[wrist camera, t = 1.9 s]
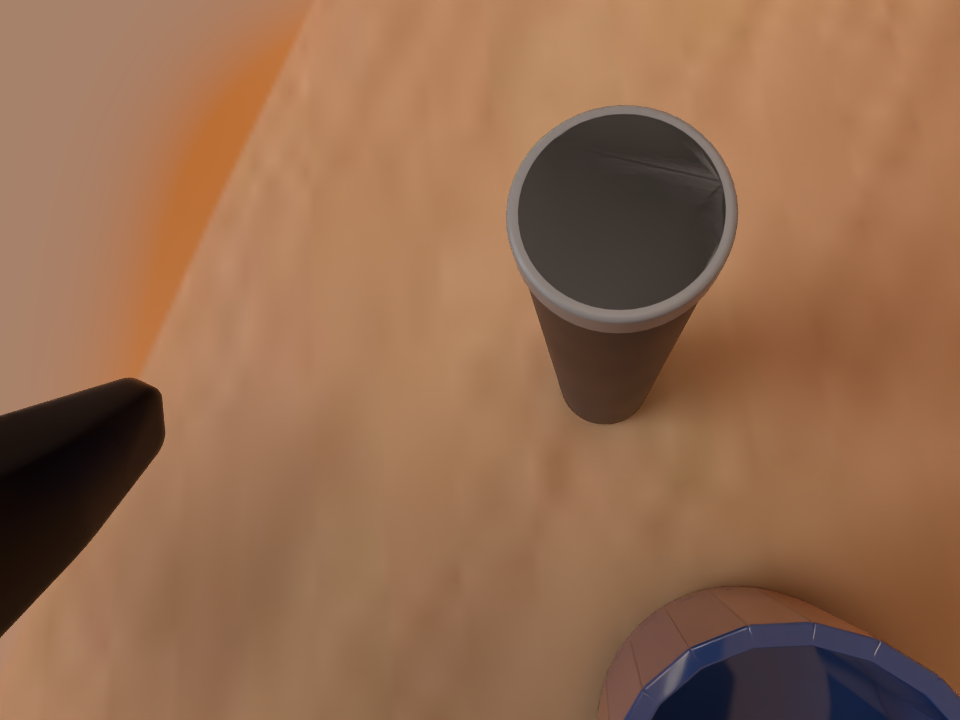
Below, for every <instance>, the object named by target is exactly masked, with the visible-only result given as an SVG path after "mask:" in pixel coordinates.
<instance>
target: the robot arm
mask: <svg viewBox="0 0 960 720" xmlns="http://www.w3.org/2000/svg"><path fill="white" fill-rule="evenodd" d="M164 438H165V425H164V414H163V403H162V396H161V393H160V392H159V390H158V389H157V388H155V387H153V386H151V385H149V384H147V383H144V382H142V381H140V380H138V379H135V378H123V379H119V380H116V381H113V382H109V383H106V384H103V385H100V386H96V387H93V388H90V389H87V390H83V391H80V392H76V393H73V394H70V395H67V396H63V397H60V398H57V399H54V400H50V401H47V402H44V403H40V404H37V405H34V406H30V407H27V408H24V409H20V410H17V411H14V412H11V413H8V414H4V415H1V416H0V638H1V636H2V635H3V634H4V633H5V632H6V631H7V630H8V629H9V628H10V627H11V626H12V625H13V624H14V623H15V621H17V619H18V618H19V617H20V616H21V615H22V614H23V613H24V612H25V611H26V610H27V609H28V608H29V607H30V606H31V605H32V604H33V603H34V601H35V600H36V599H37V598H38V597H39V596H40V595H41V594H42V593H43V592H44V591H45V590H46V589H47V588H48V587H49V586H50V584H51V583H52V582H53V581H54V580H55V579H56V578H57V577H58V576H59V575H60V574H61V573H62V572H63V571H64V570H65V569H66V568H67V566H68V565H69V564H70V563H71V562H72V561H73V560H74V559H75V558H76V557H77V556H78V555H79V553H80V552H81V551H82V550H83V549H84V548H85V547H86V546H87V544H88V543H89V542H90V541H91V539H92V538H93V537H94V536H95V535H96V533H97V532H98V531H99V530H100V528H101V527H102V526H103V524H104V523H105V522H106V520H107V519H108V518H109V516H110V515H111V514H112V513H113V511H114V510H115V509H116V507H117V506H118V505H119V503H120V502H121V501H122V499H123V498H124V497H125V496H126V494H127V493H128V492H129V490H130V489H131V488H132V486H133V485H134V484H135V482H136V481H137V480H138V479H139V477H140V476H141V475H142V473H143V472H144V471H145V469H146V468H147V467H148V465H149V464H150V463H151V462H152V460H153V459H154V458H155V456H156V455H157V454H158V452H159V451H160V449H161V447H162V445H163V442H164Z"/></svg>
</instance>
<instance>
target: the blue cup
mask: <svg viewBox="0 0 960 720" xmlns="http://www.w3.org/2000/svg"><path fill="white" fill-rule="evenodd" d="M597 720H960V697H959V696H958V695H957V694H956V693H955V692H954V691H953V689H952V688H951V687H950V686H949V685H948V684H947V683H946V682H945V681H944V680H943V679H942V678H940V677H939V676H938V675H937V674H936V673H934V672H933V671H931V670H929V669H928V668H926V667H924V666H923V665H921V664H919V663H918V662H916V661H915V660H913V659H911V658H910V657H908V656H906V655H905V654H903V653H901V652H900V651H898V650H897V649H895V648H893V647H892V646H890V645H888V644H887V643H885V642H883V641H882V640H880V639H878V638H876V637H874V636H872V635H870V634H868V633H866V632H864V631H862V630H860V629H858V628H857V627H855V626H853V625H851V624H849V623H847V622H845V621H843V620H841V619H839V618H837V617H835V616H833V615H831V614H829V613H827V612H825V611H823V610H821V609H820V608H818V607H816V606H814V605H812V604H810V603H808V602H805V601H803V600H800V599H796V598H793V597H790V596H788V595H785V594H783V593H779V592H774V591H770V590H766V589H762V588H753V587H744V586H737V587H719V588H712V589H705V590H702V591H698V592H695V593H691V594H688V595H685V596H683V597H681V598H679V599H676V600H674V601H672V602H670V603H668V604H667V605H665V606H663V607H662V608H660V609H659V610H657V611H655V612H654V613H653V614H652V615H650V616H649V617H648V618H647V619H646V620H644V621H643V622H642V623H641V624H640V625H639V626H638V627H637V628H636V629H635V630H634V631H633V632H632V633H631V635H630V636H629V637H628V638H627V639H626V641H625V642H624V644H623V645H622V647H621V648H620V650H619V651H618V653H617V654H616V656H615V658H614V660H613V662H612V664H611V666H610V668H609V670H608V673H607V676H606V679H605V682H604V685H603V687H602V692H601V697H600V701H599V706H598V716H597Z"/></svg>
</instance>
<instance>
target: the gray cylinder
mask: <svg viewBox="0 0 960 720" xmlns="http://www.w3.org/2000/svg"><path fill="white" fill-rule="evenodd" d="M737 221H738V204H737V195H736V191H735V187H734V182H733V180H732V177H731V175H730V172H729V169H728V167H727V166H726V164H725V162H724V160H723V159H722V157H721V155H720V154H719V153H718V151H717V150H716V149H715V147H714V146H713V145H712V144H711V143H710V142H709V141H708V140H707V139H706V138H705V137H704V136H703V135H702V134H701V133H700V132H699V131H697V130H696V129H695V128H694V127H692V126H691V125H690V124H688V123H686V122H684V121H683V120H681V119H679V118H677V117H675V116H673V115H670V114H668V113H666V112H663V111H659V110H656V109H652V108H648V107H641V106H629V105H618V106H608V107H602V108H597V109H593V110H590V111H587V112H584V113H581V114H578V115H576V116H574V117H572V118H570V119H568V120H566V121H564V122H562V123H561V124H559V125H558V126H556V127H555V128H553V129H552V130H551V131H549V132H548V133H547V134H546V135H545V136H543V137H542V138H541V139H540V140H539V141H538V142H537V143H536V144H535V145H534V147H533V148H532V149H531V150H530V151H529V153H528V154H527V156H526V157H525V158H524V160H523V161H522V163H521V165H520V167H519V169H518V170H517V172H516V174H515V177H514V180H513V182H512V185H511V188H510V192H509V196H508V201H507V211H506V222H507V233H508V238H509V243H510V246H511V249H512V252H513V256H514V258H515V261H516V264H517V267H518V270H519V272H520V274H521V276H522V278H523V280H524V281H525V283H526V284H527V286H528V287H529V290H530V293H531V296H532V299H533V303H534V306H535V309H536V312H537V315H538V318H539V322H540V325H541V328H542V331H543V334H544V337H545V340H546V344H547V347H548V350H549V353H550V356H551V359H552V363H553V366H554V369H555V372H556V375H557V378H558V382H559V385H560V388H561V391H562V394H563V397H564V399H565V401H566V403H567V404H568V406H569V407H570V408H571V410H572V411H573V412H574V413H576V414H577V415H578V416H580V417H581V418H583V419H585V420H587V421H589V422H592V423H597V424H612V423H617V422H620V421H622V420H625V419H627V418H628V417H630V416H631V415H632V414H634V413H635V412H636V411H637V410H638V409H639V407H640V406H641V405H642V403H643V401H644V399H645V398H646V396H647V394H648V392H649V390H650V388H651V387H652V385H653V383H654V381H655V379H656V378H657V376H658V374H659V372H660V370H661V368H662V367H663V365H664V363H665V361H666V359H667V357H668V356H669V354H670V352H671V350H672V348H673V346H674V345H675V343H676V341H677V339H678V337H679V335H680V334H681V332H682V330H683V328H684V326H685V325H686V323H687V321H688V319H689V317H690V315H691V314H692V312H693V310H694V308H695V306H696V304H697V303H698V301H699V300H700V299H701V298H702V297H703V296H704V295H705V293H706V292H707V291H708V290H709V288H710V287H711V286H712V284H713V283H714V281H715V280H716V278H717V276H718V275H719V273H720V271H721V269H722V268H723V266H724V264H725V262H726V260H727V258H728V256H729V254H730V251H731V248H732V246H733V243H734V240H735V235H736V229H737Z"/></svg>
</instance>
